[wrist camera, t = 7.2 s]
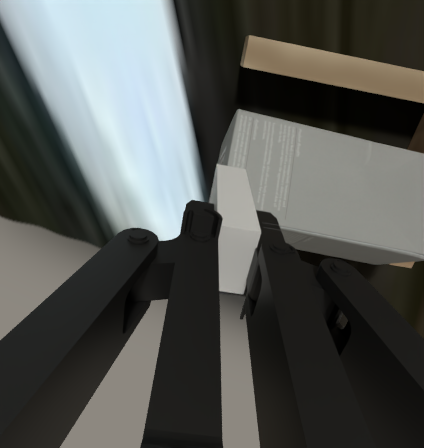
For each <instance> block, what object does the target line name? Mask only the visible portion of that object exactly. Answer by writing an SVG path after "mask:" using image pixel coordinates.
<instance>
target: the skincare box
mask: <svg viewBox="0 0 424 448" xmlns="http://www.w3.org/2000/svg"><path fill="white" fill-rule="evenodd" d="M218 164H219V165H225V166H230V167H236V168H242V169H246V173H247V177H248V181H249V185H250V189H251V193H252V197H253V201H254V205H255V209H256V210H259V211H265V212H270V213H272V214H273V215H274V216H275V217H276V218H277V220H278V223H279V226H280V229H281V231H282V234H283V237H284V240H285V242H286V243H288V244H290V245H291V246H293V247H294V248H295V249H298V250H303V251H308V252H313V253H318V254H323V255H328V256H333V257H339V258H344V259H349V260H354V261H359V262H364V263H369V264H374V265H379V264H391V263H403V262H414V261H424V154H423V153H419V152H415V151H410V150H406V149H402V148H397V147H393V146H389V145H385V144H380V143H376V142H372V141H368V140H364V139H360V138H355V137H352V136H348V135H344V134H339V133H335V132H331V131H327V130H323V129H319V128H315V127H311V126H307V125H302V124H298V123H294V122H290V121H286V120H282V119H278V118H274V117H269V116H265V115H261V114H257V113H253V112H248V111H244V110H241V109H238V110H237V112H236V113H235V116H234V118H233V120H232V122H231V124H230V127H229V129H228V132H227V134H226V136H225V138H224V141H223V143H222V146H221V150H220V155H219V160H218ZM213 182H214V180H213ZM212 187H213V185H212ZM211 192H212V189H211ZM210 197H211V194H210ZM209 202H210V198H209Z"/></svg>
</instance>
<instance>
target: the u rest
mask: <svg viewBox="0 0 424 448" xmlns="http://www.w3.org/2000/svg"><path fill="white" fill-rule="evenodd" d="M240 65H241V66H242V67H245V68H250V69H255V70H260V71H265V72H270V73H275V74H280V75H285V76H290V77H295V78H300V79H305V80H310V81H315V82H320V83H325V84H330V85H335V86H340V87H345V88H350V89H355V90H360V91H365V92H370V93H375V94H380V95H385V96H390V97H395V98H400V99H405V100H410V101H415V102H420V103H424V71H419V70H414V69H409V68H404V67H399V66H395V65H390V64H385V63H380V62H375V61H371V60H366V59H361V58H356V57H351V56H347V55H342V54H337V53H332V52H327V51H322V50H318V49H313V48H308V47H303V46H298V45H294V44H289V43H284V42H279V41H274V40H270V39H265V38H260V37H255V36H250V35H249V36H246V38H245V43H244V48H243V53H242V58H241V63H240ZM407 150H410V151H415V152H419V153H423V154H424V114H423V116H422V118H421V120H420V122H419V125H418V127H417V129H416V131H415V133H414V135H413V138H412V140H411V142H410V144H409V146H408V148H407ZM414 262H415V261H414ZM414 262H403V263H391V264H390V265H395V266H402V267H408V268H411V267H412V266H413V264H414Z"/></svg>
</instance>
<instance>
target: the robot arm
mask: <svg viewBox="0 0 424 448" xmlns="http://www.w3.org/2000/svg"><path fill="white" fill-rule="evenodd" d="M246 283H247V290H248V292H247V295H246V298H245V302H244V305H243V308H242V312H241V316H240V319H243V317H244V315H245V314H246V322H247V330H248V340H249V349H250V357H251V367H252V376H253V385H254V394H255V404H256V412H257V422H258V431H259V440H260V448H424V339H423V338H422V337H421V336H420V335H419V334H418V333H417V332H416V331H415V329H414V328H413V327H412V326H411V325H410V324H409V323H408V322H407V321H406V320H405V319H404V318H403V317H402V316H401V315H400V314H399V313H398V312H397V311H396V310H395V309H394V308H393V307H392V306H391V305H390V304H389V303H388V302H387V301H386V299H385V298H384V297H383V296H382V295H381V294H380V293H379V292H378V291H377V290H376V289H375V288H374V287H373V286H372V285H371V284H370V283H369V282H368V281H367V280H366V279H365V278H364V277H363V276H362V275H361V274H360V273H359V272H358V270H356V269H355V268H354V267H353V266H352V265H350V264H348V263H346V262H345V261H343V260H340V259H333V258H327V259H324V260H322V261H321V263H320V266H319V267H318V266H315V265H312V264H309V263H306V262H304V261H301V259H300V256H299V254H298V252H297V250H296V249H295V248H294V247H293V246H291V245H290V244H288V243H286V242H285V240H284V237H283V234H282V231H281V229H280V226H279V223H278V220H277V218H276V217H275V216H274V215H273V214H272V213H270V212H265V211H259V210H256V209H255V205H254V201H253V197H252V193H251V189H250V185H249V181H248V177H247V173H246V169H242V168H236V167H230V166H225V165H219V164H217V166H216V171H215V176H214V182H213V187H212V192H211V197H210V202H209V203H207V202H201V201H195V200H191V201H190V202H189V203H187V204H186V208H185V211H184V214H183V220H182V227H181V233H180V235H179V236H178V237H177V238H175V239H172V240H168V241H158V237H157V235H155V234H154V233H153V232H151V231H149V230H146V229H141V228H130V229H126V230H123V231H121V232H120V233H118V234H117V235H116V236H115V237H114V238H113V239H112V240H111V241H109V242H108V243H107V244H106V245H105V246H104V247H103V248H102V249H101V250H100V251H98V252H97V253H96V254H95V255H94V256H93V257H92V258H91V259H90V260H89V261H87V262H86V263H85V264H84V265H83V266H82V267H81V268H80V269H79V270H78V271H76V272H75V273H74V274H73V275H72V276H71V277H70V278H69V279H68V280H66V282H64V283H63V284H62V285H61V286H60V287H59V288H58V289H57V290H55V292H53V293H52V294H51V295H50V296H49V297H48V298H47V299H46V300H44V301H43V302H42V303H41V304H40V305H39V306H38V307H37V308H36V309H35V310H34V311H32V312H31V313H30V314H29V315H28V316H27V317H26V318H25V319H23V320H22V321H21V322H20V323H19V324H18V325H17V326H16V327H15V328H14V329H12V331H10V332H9V333H8V334H7V335H6V336H5V337H4V338H3V339H1V340H0V448H59V447H60V446H61V444H62V443H63V441H64V440H65V438H66V437H67V435H68V433H69V432H70V430H71V429H72V427H73V426H74V424H75V422H76V421H77V419H78V418H79V416H80V414H81V413H82V411H83V410H84V408H85V407H86V405H87V404H88V402H89V400H90V399H91V397H92V396H93V394H94V393H95V391H96V389H97V388H98V386H99V385H100V383H101V382H102V380H103V378H104V377H105V375H106V374H107V372H108V371H109V369H110V368H111V366H112V364H113V363H114V361H115V359H116V358H117V357H118V355H119V353H120V352H121V350H122V349H123V347H124V346H125V344H126V342H127V341H128V339H129V338H130V336H131V334H132V333H133V331H134V329H135V328H136V326H137V325H138V323H139V322H140V320H141V319H142V317H143V316H144V314H145V313H146V311H147V309H148V308H149V306H150V303H151V300H161V299H168V304H167V309H166V315H165V321H164V326H163V331H162V336H161V342H160V347H159V353H158V358H157V364H156V370H155V375H154V380H153V386H152V391H151V396H150V402H149V408H148V413H147V418H146V424H145V429H144V434H143V440H142V443H141V447H140V448H223V443H222V408H221V407H222V406H221V358H220V357H221V356H220V305H219V291H224V292H231V293H237V294H244V290H245V287H246ZM342 314H344V315H345V316H346V318H347V319H348V322H347V324H346V326H345V327H343V326H342V325H341V324H340V323H339V320H340V318H341V316H342Z"/></svg>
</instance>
